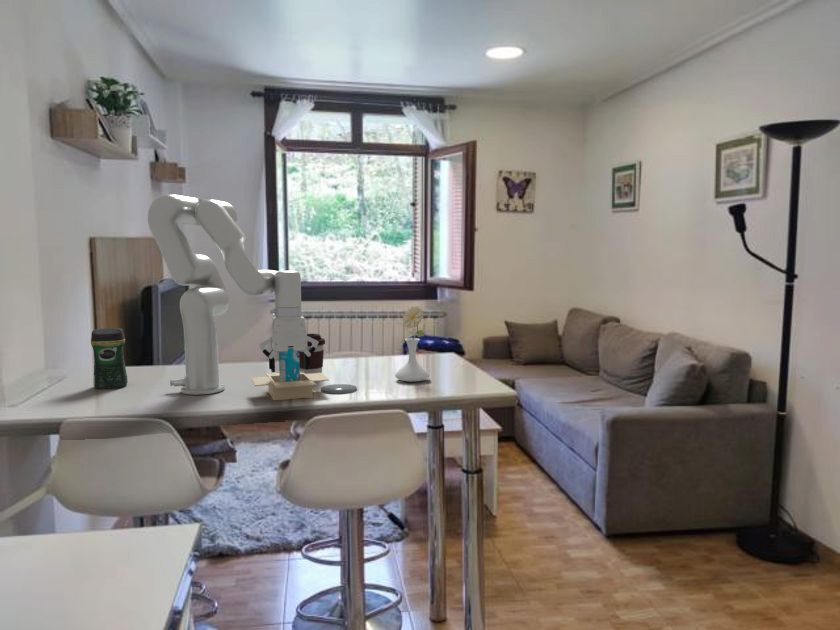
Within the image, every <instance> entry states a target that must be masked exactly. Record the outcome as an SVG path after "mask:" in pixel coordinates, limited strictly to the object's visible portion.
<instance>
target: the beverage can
mask: <svg viewBox="0 0 840 630" xmlns="http://www.w3.org/2000/svg"><path fill="white" fill-rule="evenodd" d="M291 347H294V346H288V348H289V349H288V351H287V352H278V361H279V363H278V367H279V368H278V371H279V372H278V373H279V374H280V382H291V381H300V355H299V351H298V352H296V351H294V349H293V348H291Z"/></svg>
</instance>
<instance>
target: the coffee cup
mask: <svg viewBox="0 0 840 630" xmlns="http://www.w3.org/2000/svg"><path fill="white" fill-rule="evenodd" d="M307 336H308V337H311V338H313V339H315V340H317V341H318V342H319V343H318V345H317V347H316V349H315V351H314V352H313V353H312V354H311V356H310V367H308V370H305V369H304V355H305V353H304V352H303V351H299V355H300V371H303V372H304V373H305V374H310V373H322V374H323V367H324V345H325V344H326V339H325V338H322V335H321V334H319V333H307ZM311 346H312V343H311V342H309V341H307V350H309V349H310V348H311Z"/></svg>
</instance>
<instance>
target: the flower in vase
mask: <svg viewBox="0 0 840 630" xmlns="http://www.w3.org/2000/svg"><path fill="white" fill-rule="evenodd" d="M423 319H424V310H423V309H422V307H419V306H418V305H415V306H411V307H410V308H408V309H407V310H406V311H404V314H403V317H402V322H403V323H402V326H404V327H405V328H406V329H405V330H406V331H407V332H408V333H409V334H411V335H412V336H413V337H409V338H405V339H404V341H405V342H406V344H407V348H408V360H407V362H406V363H405V364H404V365H403V366H402V367H400V368H399V369H398V371H396V373H395V374H394V377H395V378H396V379H397V380H400V381H402V382H411V383H412V382H413V383H414V382H422V381H425V380H427V379H429V378H430V373H429V372H428V370H427V369H425V368H424V367H423V366H422V365H421V364H419V362H418V361H417V358H416V355H417V347H418V343H419V342H420V340H421V339H420V338H421V337H425V333H424V330H423V329H419V325H420V323H421V322H422V320H423ZM413 327H414V328H416V332H415V333H414V332H413V331H411V330H410V329H413ZM416 336H417V337H418V338H417V337H416Z"/></svg>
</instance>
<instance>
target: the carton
mask: <svg viewBox="0 0 840 630" xmlns="http://www.w3.org/2000/svg"><path fill="white" fill-rule="evenodd" d="M265 375H266V376H257V377H251V378H250V379H251V381H252V383H253V385H254V387H261V386H268V391H267V392H268V393H269V395H270V397H271V399H272V400H273V401H283V400H294V399H306V398H307V399H308V398H313V395H314V394H313V392H314V389H313V386H317V384H316V383H315V382H317V383H318V382H328V381H330V379H329V378H328V377H327V376H326V375H325V374H324V373H323V372H322V373H310V374H305V373H304V372H303V371H300V381H291V382H280V374H279V372H268V373H265Z"/></svg>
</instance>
